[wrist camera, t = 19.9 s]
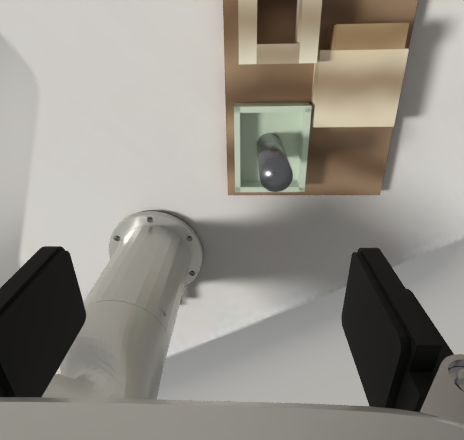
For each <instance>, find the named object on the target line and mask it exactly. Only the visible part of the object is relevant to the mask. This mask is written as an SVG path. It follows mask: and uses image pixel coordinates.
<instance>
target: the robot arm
mask: <svg viewBox="0 0 464 440" xmlns="http://www.w3.org/2000/svg"><path fill="white" fill-rule="evenodd" d="M151 217H152V218H151ZM190 236H191V237H190ZM109 255H110V261H109V262H108V264H107V265H106V267H105V269H104V270H103V272H102V273H101V275H100V277H99V278H98V280H97V281H96V283H95V284H94V286H93V288H92V289H91V291H90V292H89V294H88V295H87V297H86V299H85V300H84V302H83V300H82V296H81V292H80V289H79V285H78V282H77V278H76V274H75V271H74V267H73V263H72V260H71V256H70V253H69V252H68V251H65V249H64V248H63V247H51V246H45V247H42V248H41V249H39V250H38V251H37V252H36V253H35V254H34V255H33V256H32V257H31V258H30V259H29V260H28V261H27V262H26V263H25V264H24V265H23V266H22V267H21V268H20V269H19V270H18V271H17V272H16V273H15V274H14V275H13V276H12V277H11V278H10V279H9V280H8V281H7V282H6V283H5V284H4V285H3V286H2V287H1V288H0V440H464V355H462V354H459V355H454V354H453V352H452V351H451V349H450V348H449V346H448V345H447V343H446V342H445V340H444V339H443V337H442V336H441V335H440V333H439V332H438V330H437V329H436V327H435V326H434V324H433V323H432V321H431V320H430V318H429V317H428V315H427V314H426V313H425V311H424V309H423V308H422V306H421V305H420V303H419V302H418V300H417V299H416V297H415V296H414V294H413V293H412V292H411V291H410V290H409V289H405V287H404V286H403V284H402V283H401V281H400V280H399V278H398V276H397V275H396V273H395V272H394V270H393V269H392V267H391V266H390V264H389V263H388V261H387V260H386V258H385V256H384V255H383V253H382V252H381V250H380V249H379V248H360V249H359V250H358V252H354V253H353V254H352V258H351V264H350V270H349V276H348V282H347V287H346V293H345V300H344V305H343V311H342V326H343V329H344V332H345V335H346V338H347V341H348V344H349V347H350V350H351V353H352V356H353V358H354V362H355V365H356V367H357V370H358V373H359V376H360V379H361V382H362V385H363V388H364V391H365V394H366V397H367V400H368V403H369V406H370V407H369V406H348V405H347V406H346V405H325V404H300V403H267V402H266V403H265V402H231V401H192V400H157V395H158V390H159V385H160V380H161V375H162V371H163V367H164V363H165V359H166V355H167V351H168V347H169V343H170V339H171V336H172V332H173V328H174V324H175V320H176V316H177V312H178V308H179V305H180V301H181V297H182V293H183V289H184V287H186V286H187V285H188V284H190V283H191V282H192V281H193V280H194V279H195V278H196V276H197V275H198V273H199V271H200V268H201V264H202V259H203V252H202V246H201V243H200V240H199V239H198V237H197V235H196V233H195V232H194V231H193V230H192V228H191V227H190V226H188V225H187V224H186V223H185V222H184V221H182V220H180V219H179V218H177V217H175V216H172V215H170V214H167V213H163V212H158V211H146V212H139V213H136V214H133V215H131V216H129V217H127V218H126V219H124V220H123V221H122V222H121V223H120V224H119V225H118V226H117V227H116V229H115V230H114V232H113V234H112V235H111V238H110V242H109ZM59 366H60V370H61V375H60V374H55V373H56V372H57V370H58V368H59Z"/></svg>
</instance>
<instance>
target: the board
mask: <svg viewBox="0 0 464 440" xmlns="http://www.w3.org/2000/svg"><path fill="white" fill-rule="evenodd" d="M417 2H418V0H322V9H321V21H320V32H319V44H318V50H381V49H408V48H409V43H410V38H411V33H412V28H413V23H414V18H415V12H416V7H417ZM296 8H297V0H257V44H294V43H295V25H296ZM223 15H224V55H225V95H226V135H227V175H228V195H380V192H381V187H382V182H383V177H384V172H385V167H386V161H387V156H388V151H389V146H390V141H391V136H392V131H393V127H313V126H312V125H311V124H310V133H309V145H308V156H307V168H306V180H305V192H235V149H234V104H235V103H272V102H308V103H309V104H310V105H311V98H312V86H313V75H314V63H296V64H239V32H238V0H223Z"/></svg>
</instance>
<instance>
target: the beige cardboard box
mask: <svg viewBox="0 0 464 440" xmlns="http://www.w3.org/2000/svg"><path fill="white" fill-rule="evenodd" d="M408 52H409V49H381V50H318V55H317V63H314V75H313V86H312V98H311V106H312V109H311V121H310V124H311V125H312V126H313V127H394V124H395V119H396V113H397V108H398V103H399V98H400V93H401V88H402V83H403V78H404V73H405V67H406V62H407V57H408Z"/></svg>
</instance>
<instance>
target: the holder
mask: <svg viewBox="0 0 464 440" xmlns="http://www.w3.org/2000/svg"><path fill="white" fill-rule="evenodd" d="M321 9H322V0H297V8H296V25H295V43H294V44H257V0H238V32H239V64H296V63H317V55H318V44H319V32H320V21H321Z"/></svg>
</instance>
